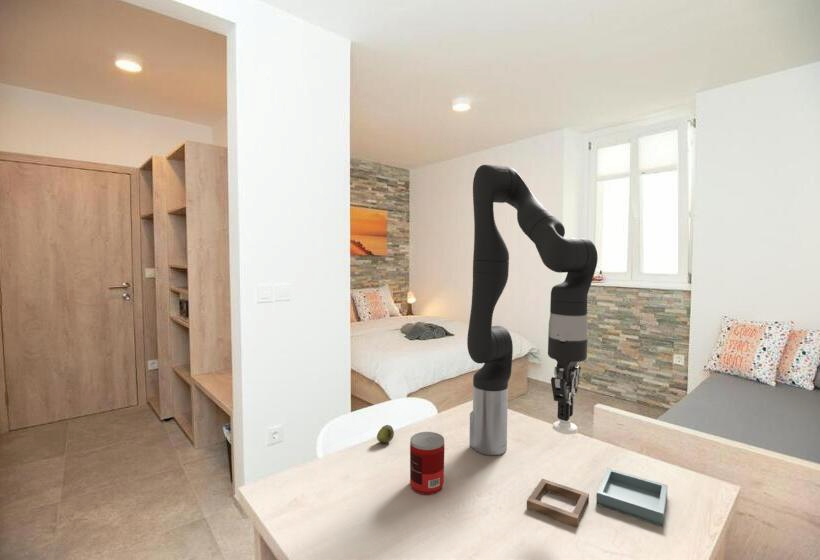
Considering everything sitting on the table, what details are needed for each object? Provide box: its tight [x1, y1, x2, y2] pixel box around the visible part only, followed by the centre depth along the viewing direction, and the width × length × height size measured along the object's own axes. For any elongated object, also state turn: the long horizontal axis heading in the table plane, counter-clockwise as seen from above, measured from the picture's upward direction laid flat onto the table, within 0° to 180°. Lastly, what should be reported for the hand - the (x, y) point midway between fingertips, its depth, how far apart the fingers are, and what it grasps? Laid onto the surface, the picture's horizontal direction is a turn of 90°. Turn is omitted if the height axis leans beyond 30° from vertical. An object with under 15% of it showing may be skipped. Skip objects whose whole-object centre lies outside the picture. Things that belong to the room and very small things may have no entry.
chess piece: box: [552, 386, 579, 435], centre depth 84 cm, size 5×5×10 cm
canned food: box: [409, 431, 445, 496], centre depth 93 cm, size 8×8×11 cm
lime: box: [376, 424, 395, 444], centre depth 114 cm, size 4×5×5 cm
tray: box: [595, 467, 669, 527], centre depth 87 cm, size 12×12×3 cm
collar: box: [526, 478, 590, 528], centre depth 86 cm, size 10×10×2 cm
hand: (565, 417), depth 85 cm, fingers closed on chess piece
